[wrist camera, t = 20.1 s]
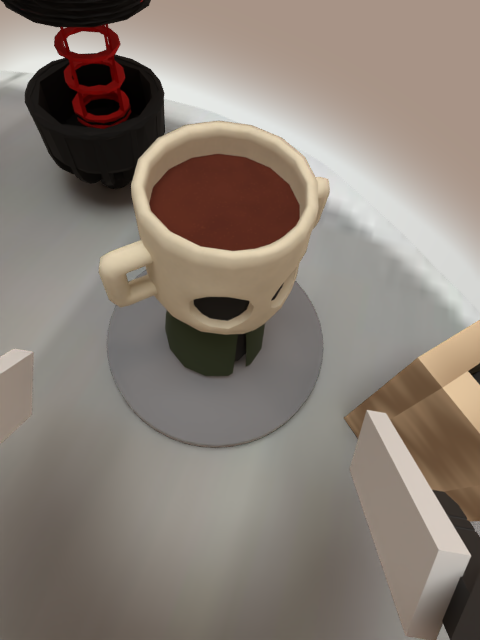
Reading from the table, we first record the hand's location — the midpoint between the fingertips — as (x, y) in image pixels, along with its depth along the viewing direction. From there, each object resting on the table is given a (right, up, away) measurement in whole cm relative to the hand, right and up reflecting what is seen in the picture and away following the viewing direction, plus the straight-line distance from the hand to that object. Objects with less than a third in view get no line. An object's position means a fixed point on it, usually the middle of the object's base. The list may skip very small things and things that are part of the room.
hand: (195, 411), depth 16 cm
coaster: (0, +2, +12) cm, 12 cm away
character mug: (0, +3, +11) cm, 11 cm away
